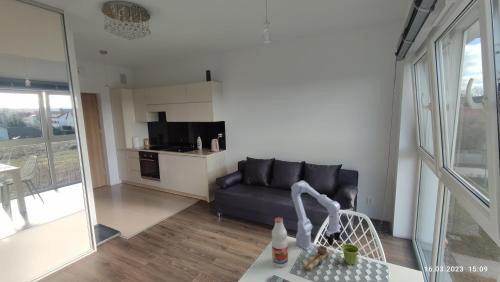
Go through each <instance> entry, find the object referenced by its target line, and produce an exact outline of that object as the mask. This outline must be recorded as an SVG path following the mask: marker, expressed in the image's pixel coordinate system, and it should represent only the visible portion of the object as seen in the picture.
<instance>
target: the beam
mask: <svg viewBox="0 0 500 282" xmlns="http://www.w3.org/2000/svg"><path fill="white" fill-rule="evenodd" d="M326 257H327V259H328V258H329V257H330V251H329V250H328V251H327V253H326V254H325V255H324V256H322V255H321V256H320V254H318V253H317V252H316V253H314V254H311V256H310V257H309V258H308V259H307V260H306V261H304V262H303V263H302V265H303V266H302V268H303V269H304V270H307V271H308V272H310V273H311V272H313V270H314V267H316V266H317V265H318V266H321V265H322V263H323V260H325V258H326Z"/></svg>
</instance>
